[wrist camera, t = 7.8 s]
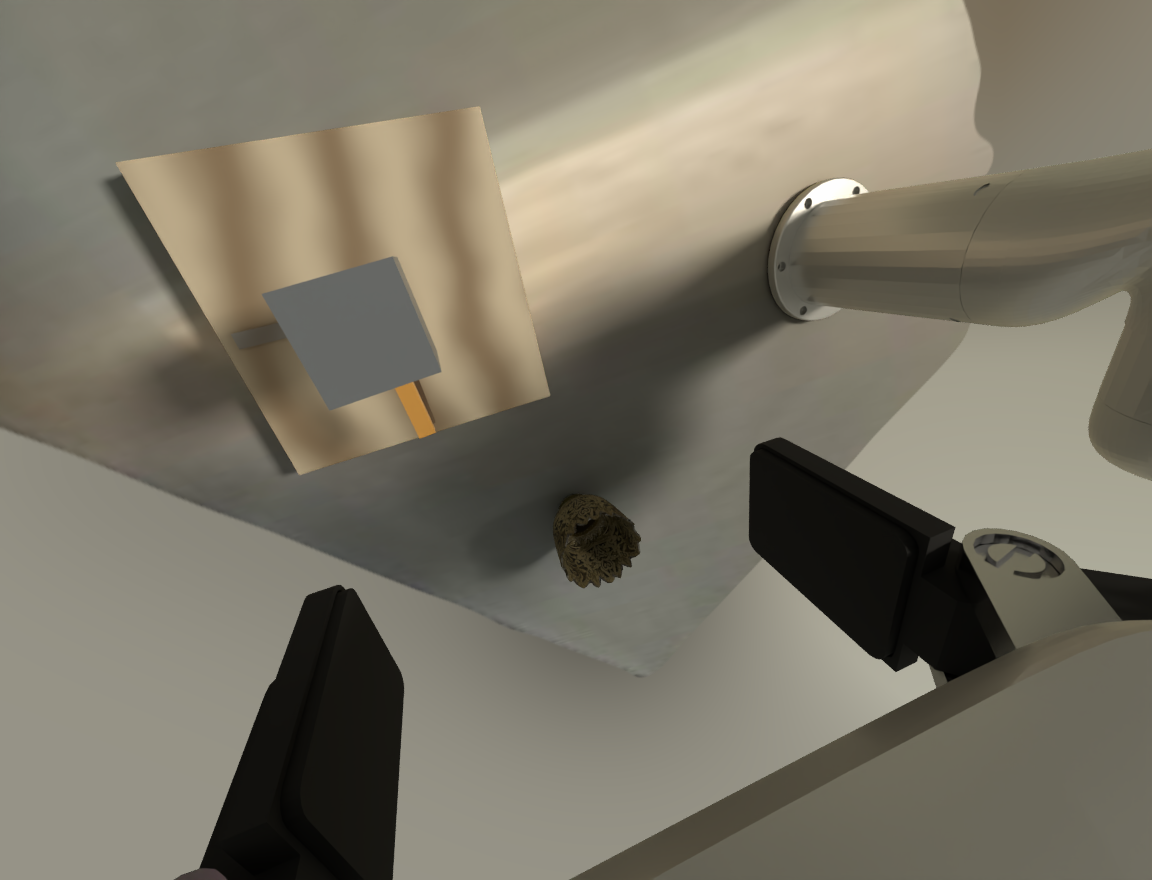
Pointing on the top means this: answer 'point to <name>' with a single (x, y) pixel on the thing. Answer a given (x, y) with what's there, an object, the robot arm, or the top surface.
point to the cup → (593, 540)
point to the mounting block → (352, 265)
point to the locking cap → (360, 336)
